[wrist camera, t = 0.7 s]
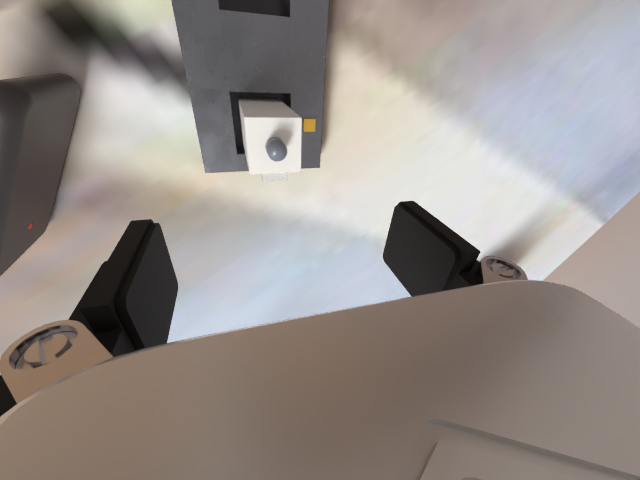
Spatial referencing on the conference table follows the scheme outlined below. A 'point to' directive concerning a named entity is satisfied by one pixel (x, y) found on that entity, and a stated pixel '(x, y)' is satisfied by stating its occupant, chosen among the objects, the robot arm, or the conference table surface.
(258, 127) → the plug
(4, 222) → the leaning round-cornered charcoal block
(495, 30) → the conference table surface
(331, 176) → the conference table surface
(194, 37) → the panel
